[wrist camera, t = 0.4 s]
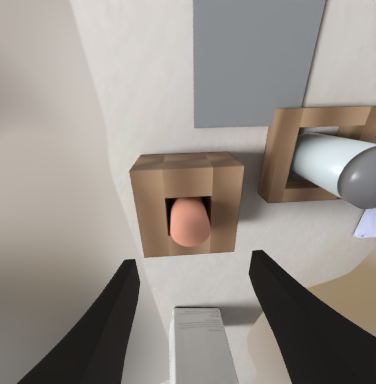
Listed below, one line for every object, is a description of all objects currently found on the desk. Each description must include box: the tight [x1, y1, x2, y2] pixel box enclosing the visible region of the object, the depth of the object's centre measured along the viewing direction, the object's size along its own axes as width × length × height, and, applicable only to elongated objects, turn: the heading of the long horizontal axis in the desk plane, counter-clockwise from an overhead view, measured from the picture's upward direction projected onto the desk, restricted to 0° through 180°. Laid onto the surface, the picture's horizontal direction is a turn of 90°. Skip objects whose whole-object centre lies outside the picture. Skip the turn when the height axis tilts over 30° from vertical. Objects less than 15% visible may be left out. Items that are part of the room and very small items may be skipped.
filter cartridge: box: [289, 132, 376, 209], centre depth 16 cm, size 4×4×8 cm
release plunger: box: [170, 196, 211, 247], centre depth 16 cm, size 3×3×5 cm
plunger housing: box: [129, 152, 244, 258], centre depth 18 cm, size 9×9×5 cm
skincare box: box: [169, 308, 239, 384], centre depth 24 cm, size 8×6×15 cm
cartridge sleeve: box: [258, 106, 376, 203], centre depth 18 cm, size 9×9×2 cm
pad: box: [193, 0, 326, 128], centre depth 15 cm, size 10×10×1 cm
